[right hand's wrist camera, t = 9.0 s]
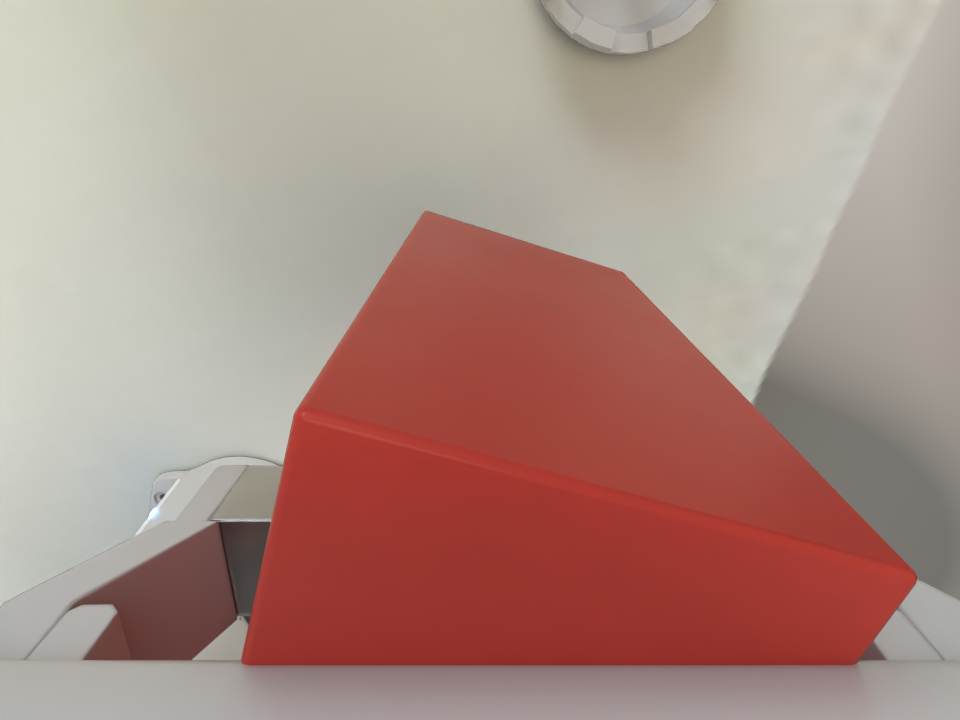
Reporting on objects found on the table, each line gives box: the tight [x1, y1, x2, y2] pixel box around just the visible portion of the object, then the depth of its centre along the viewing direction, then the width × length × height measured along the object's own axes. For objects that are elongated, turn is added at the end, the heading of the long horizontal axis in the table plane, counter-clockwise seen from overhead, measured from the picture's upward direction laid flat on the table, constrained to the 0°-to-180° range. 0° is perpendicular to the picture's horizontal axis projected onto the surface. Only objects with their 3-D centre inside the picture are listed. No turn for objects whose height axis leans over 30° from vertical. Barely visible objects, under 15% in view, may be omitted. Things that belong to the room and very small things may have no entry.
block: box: [241, 211, 917, 665], centre depth 11 cm, size 5×7×11 cm
